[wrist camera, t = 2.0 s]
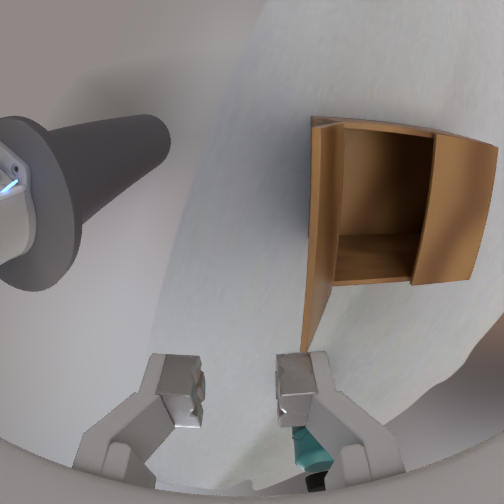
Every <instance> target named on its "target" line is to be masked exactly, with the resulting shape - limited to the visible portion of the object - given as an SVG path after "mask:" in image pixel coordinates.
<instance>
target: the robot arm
mask: <svg viewBox="0 0 504 504" xmlns="http://www.w3.org/2000/svg"><path fill="white" fill-rule="evenodd" d="M36 228H37V221H36V212H35V207H34V203H33V199H32V195H31V170H30V167H29V166H28V164H27V163H25V162H24V161H23V160H22V159H21V158H20V157H18V156H17V155H16V154H15V153H14V152H13V151H12V150H11V149H9V148H8V147H7V146H6V145H5V144H4V143H3V142H2V141H1V140H0V265H1V264H3V263H4V262H6V261H8V260H10V259H12V258H15V257H17V256H20V255H23V254H25V253H26V252H28V251H29V249H30V248H31V247H32V245H33V243H34V240H35V236H36ZM201 364H202V363H201V359H200V356H191V355H174V354H156V353H153V354H152V355H151V356H150V358H149V361H148V364H147V367H146V371H145V374H144V377H143V380H142V383H141V386H140V390H139V393H135V392H134V393H133V394H132V395H130V396H129V397H128V398H127V399H126V400H124V401H123V402H122V403H121V404H119V405H118V406H117V407H116V408H115V409H113V410H112V411H111V412H110V413H108V414H107V415H106V416H105V417H104V418H102V419H101V420H100V421H98V422H97V423H96V424H95V425H93V426H92V427H91V428H90V429H88V430H87V431H86V432H85V433H84V434H83V437H82V439H81V443H80V445H79V448H78V451H77V454H76V457H75V460H74V463H73V466H72V468H70V467H67V466H64V465H62V464H59V463H56V462H54V461H51V460H48V459H46V458H43V457H41V456H39V455H36V454H34V453H32V452H29V451H27V450H25V449H23V448H21V447H19V446H17V445H15V444H12V443H10V442H8V441H7V440H5V439H3V438H0V504H504V431H502V432H500V433H498V434H497V435H495V436H493V437H491V438H489V439H488V440H485V441H484V442H481V443H479V444H477V445H475V446H473V447H471V448H469V449H467V450H464V451H462V452H460V453H457V454H455V455H453V456H450V457H448V458H445V459H443V460H441V461H438V462H435V463H433V464H430V465H427V466H424V467H421V468H418V469H415V470H412V471H409V472H406V471H405V468H404V464H403V461H402V458H401V454H400V451H399V448H398V444H397V441H396V438H395V435H394V434H393V433H391V432H390V431H389V430H388V429H386V428H385V427H384V426H383V425H381V424H380V423H379V422H378V421H377V420H375V419H374V418H373V417H372V416H370V415H369V414H368V413H367V412H365V411H364V410H363V409H362V408H361V407H359V406H358V405H357V404H356V403H355V402H353V401H352V400H351V399H350V398H349V397H347V396H346V395H345V394H344V393H343V392H342V391H338V392H336V388H335V384H334V380H333V376H332V372H331V368H330V365H329V361H328V357H327V353H326V352H325V351H316V352H309V353H308V352H303V353H289V354H276V372H275V387H276V399H277V400H278V401H277V415H278V427H295V426H306V428H307V429H308V431H309V432H310V433H311V434H312V435H313V436H314V438H315V439H316V440H317V441H318V442H319V443H320V444H321V446H322V447H323V448H324V449H325V450H326V451H327V452H328V453H329V455H330V456H331V457H332V458H333V459H334V460H335V461H334V463H333V464H332V466H331V468H330V470H329V471H328V473H327V475H326V476H325V478H324V480H325V488H326V491H319V492H311V493H302V494H291V495H277V496H247V497H246V496H213V495H199V494H188V493H180V492H171V491H165V490H158V489H155V483H156V476H155V475H154V474H153V473H152V472H151V471H150V470H149V469H148V467H147V466H146V465H145V464H144V463H145V462H146V461H147V460H148V458H149V457H150V456H151V455H152V454H153V453H154V452H155V451H156V449H157V448H158V447H159V446H160V445H161V444H162V443H163V441H164V440H165V439H166V438H167V437H168V436H169V435H170V433H171V432H172V431H173V430H174V429H175V426H179V427H201V424H202V416H203V408H202V405H201V402H202V401H203V400H204V399H205V376H204V372H202V371H201Z"/></svg>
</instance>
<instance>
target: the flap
mask: <svg viewBox="0 0 504 504" xmlns="http://www.w3.org/2000/svg"><path fill="white" fill-rule="evenodd" d="M343 144H344V123H343V122H336V123H331V124H326V125H321V126H316V127H312V170H311V204H310V228H309V247H308V263H307V278H306V291H305V304H304V315H303V326H302V337H301V346H300V353H303V352H307V351H308V349H309V346H310V344H311V342H312V339H313V337H314V335H315V332H316V330H317V327H318V325H319V322H320V320H321V317H322V315H323V312H324V310H325V307H326V304H327V302H328V299H329V297H330V294H331V291H332V283H333V275H334V267H335V258H336V249H337V239H338V228H339V216H340V203H341V188H342V170H343Z"/></svg>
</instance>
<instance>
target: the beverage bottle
mask: <svg viewBox="0 0 504 504" xmlns="http://www.w3.org/2000/svg"><path fill="white" fill-rule="evenodd" d="M292 430H293V431H292V433H293V434H292V435H293V437H292V439H294V449H295V464H296V465H297V466H298V467H299V468H301V469H303V470H305V471H307V472H319V473H315V474H312V475H309V476H308V477H306V479H305V480H306V484H307V489H308V492H309V493H311V492H319V491H326V488H325V480H324V478H325V476H326V475H327V473H328V471H326V470H329V469H330V468H331V466H332V464H333V463H334V461H335V460H334V459H333V458H332V457H331V456H330V455H329V453H328V452H327V451H326V450H325V449H324V448H323V447H322V446H321V444H320V443H319V442H318V441H317V440H316V439H315V438H314V436H313V435H312V434H311V433H310V432H309V431H308V429H307V428H306V426H295V427H292ZM321 471H323V472H321Z"/></svg>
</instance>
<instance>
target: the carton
mask: <svg viewBox="0 0 504 504" xmlns="http://www.w3.org/2000/svg"><path fill="white" fill-rule="evenodd" d="M336 122H343V123H344V144H343V170H342V188H341V203H340V216H339V228H338V239H337V249H336V258H335V267H334V275H333V283H332V286H346V285H362V284H376V283H390V282H402V281H410V284H411V286H412V285H423V284H433V283H443V282H452V281H461V280H469V279H470V277H471V274H472V271H473V268H474V265H475V261H476V258H477V255H478V251H479V248H480V244H481V241H482V237H483V233H484V229H485V225H486V220H487V216H488V211H489V207H490V202H491V196H492V191H493V185H494V179H495V172H496V164H497V156H498V147H495V146H493V145H491V144H488V143H485V142H482V141H478V140H475V139H471V138H468V137H464V136H460V135H457V134H453V133H449V132H445V131H441V130H436V129H431V128H425V127H419V126H412V125H406V124H399V123H391V122H383V121H374V120H363V119H352V118H338V117H318V116H311V170H312V127H316V126H321V125H326V124H331V123H336ZM310 204H311V177H310ZM309 228H310V209H309ZM308 238H309V232H308Z"/></svg>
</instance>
